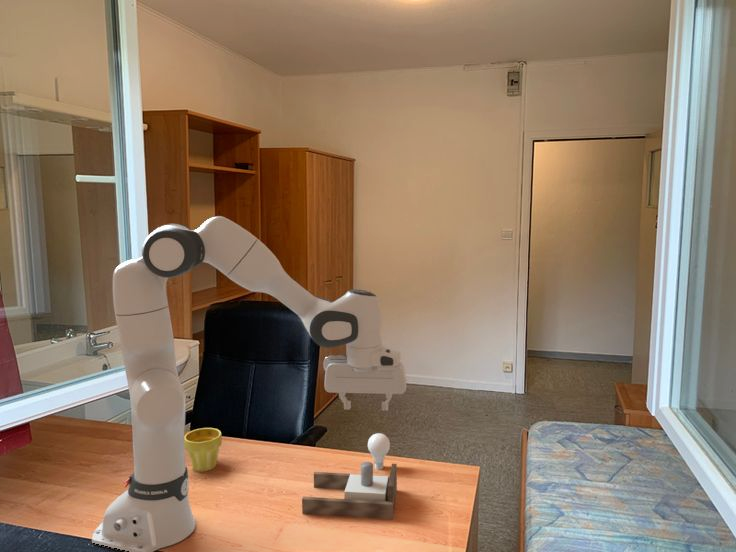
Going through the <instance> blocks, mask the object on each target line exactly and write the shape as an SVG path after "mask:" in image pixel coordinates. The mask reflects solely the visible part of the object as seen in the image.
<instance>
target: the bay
mask: <svg viewBox="0 0 736 552" xmlns="http://www.w3.org/2000/svg"><path fill="white" fill-rule="evenodd" d="M397 466H398V465H397V463H391V468H390V472H389V473H390V474H389V475H387V476H388V500H387V502H386V501H369V500H353V499H345V498H335V497H333V498H332V497H316V496H315V497H314V496H302V498H301V504H302V505H301V507H302V508H301V510H302V511H301V512H302V515H313V516H325V517H326V516H327V517H341V518H358V519H359V518H360V519H361V518H362V519H373V520H374V519H375V520H376V519H377V520H378V519H379V520H391V521H392V520H393V519H394V514H395V513H394V512H395V506H396V499H397V491H398V476H397V469H398V468H397ZM350 474H351V473H346V472H345V473H343V472H342V473H341V472H325V471H314V472H313V488H314V489H315V488H316V489H331V490H332V489H333V490H345V488H346V485H347V482H348V479H349V476H350ZM358 474H359V475H361V473H358ZM377 475H378V474H377ZM378 476H384V475H380V474H379V475H378Z"/></svg>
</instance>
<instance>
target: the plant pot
mask: <svg viewBox="0 0 736 552" xmlns="http://www.w3.org/2000/svg"><path fill="white" fill-rule="evenodd" d="M222 438H223V437H222V432H221V430H219V429H218V428H213V427H202V428H197V429H193V430H191V431H189V432H187V433H186V434H184V444H185V451H187V453H188V456H189V459H190V463H191V466H192V469H193V471H196V472H207V471H210V470H213V469H214V468H215V467H216V466H217V461H218V456H219V451H220V447H221V446H222V442H223V441H222Z"/></svg>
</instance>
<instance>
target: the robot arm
mask: <svg viewBox="0 0 736 552" xmlns="http://www.w3.org/2000/svg"><path fill="white" fill-rule="evenodd" d="M141 247H142V248H141V256H140V257H137V258H133V259H128V260H125V261H123V262H122V263H120V264H118V265H117V267H115V269H114V270H113V274H112V299H113V300H112V301H113V302H112V303H113V309H114V316H115V321H116V326H117V327H116V328H117V332H118V337H119V343H120V349H121V354H122V359H123V365H124V371H125V377H126V380H127V381H126V382H127V386H128V391H129V392H128V393H129V398H130V409H131V410H130V411H131V426H132V427H131V429H132V431H131V432H132V454H133V455H132V456H133V468H134V469H133V471H134V473H132V474H130V475H129V477H128V479H127V480H126V481H124V483H123V484H124V486H123V488H124V489H125V488H126V487H128V489H127V490H125V491H123V493H121V494H120V495H119V496H118V497H117V498H115V499H114V500H113V501H112V502H111V503H110V504H109V505H108V507H107V509H106V510H105V512H104V515H103V518H102V522H101V523H100V524H99V525H98V526H97V527H96V528H95V530H94V532H93V534H92V536H91V543H92V544H93V543H95V544H94V545H96V544H99V545H98V546H101V545H104V546H103V547H105V546H108V547H107V548H109V547H111V548H110V549H114V548H117V549H116V550H118V549H120V550H119V551H122V550H125V551H124V552H127V551H129V552H155V551H157V550H160V549H163V548H166V547H170V546H172V545H176V544H177V543H180V542H181V541H184V540H185V539H186V538H188V537H189V536H191V534H192V533H193V532H194V530H195V528H196V526H197V525H196V520H195V518H194V514H193V512H192V509H191V503H190V499H189V487H190V485H189V483H190V482H189V470H188V467H187V465H186V449H185V444H184V437H185V430H186V429H185V427H186V393H185V390H184V387H183V385H182V383H181V380H180V378H179V373H178V367H177V361H176V359H177V358H176V351H175V337H174V331H173V326H172V320H171V319H172V318H171V313H170V308H169V306H170V305H169V301H168V295H167V281H168V279H171V278H172V279H173V278H177V277H180V276H184V275H185V274H187V273H189V272H190V271H191V270H192V269H194V268H195V267H198V266H199V265H201V264H202V263H206V264H208V265H210V266H212V267H214V268H216V269H217V270H218V271H219V272H220V273H222V274H223V275H224V276H226V277H227V278H228V279H229V280H231V281H232V282H234V283H235V284H237V285H238V286H240V287H242V288H244V289H246V290H248V291H249V292H252V293H264V294H267V295H269V296H272V297H273V298H275V299H277V300H278V301H279V302H280V303H281V304H283V305H284V306H285V307H287V308H288V309H289V310H290V311H292V312H293V313H295V314H296V316H298V318H299V319H300V322H301V324H302V326H303V328H304V329H305V331H306V332H307V333H308V335H309V336H310V338H311V340H312V341H313V342H314V343H315V344H316V345H317V346H319V347H321V348H325V349H327V348H328V349H331V348H336V347H339V346H345V348H346V349H345V350H346V351H345V352H346V353H345V354H337V355H335V354H328V356H325V358H324V359H323V362H322V364H323V370H324V371H325V373H324V374H325V375H324V382H323V383H324V390H325V391H326V392H327V393H334V394H335V393H338V398H339V399H340V401H341V402H342V404H343V410H351V407H352V405H351V403H352V402H351V400H348V399H347V397H346V394H382V395H384V394H385V398H386V400H385V401H381V404H380V405H381V406H380V407H381V411H384V412H385V411H388V410H389V403H390V401H391V399H392V398H393V397H392V396H393V395H403V394H404V393H405V392H406V391H407V376H406V370H405V366H404V365H403V363H402V362H401V357H402V355H401V352H400V351H399V350H396V349H393V348H390V347H386V346H384V345H383V340H382V337H381V330H382V326H383V325H382V310H381V304H380V299H379V297H378V296H377V295H376V294H375V293H373V292H371V291H367V290H364V289H350V290H347V292H346V293H345V294H343V296H341V297H339V298H337V299H336V300H335V301H332V300H331V299H329V298H324V297H320V296H316V295H314V294H312V293H311V292H309V291H308V290H307V289H306V288H304V287H303V286H302V285H301V284H299V283H298V281H296V280H294V279H293V278H292V277H290V275H289V274H288V273H287V272H286V270H285V269H284V268H283V266H282V264H281V262H280V260H279V259H278V258H277V257H276V255H275V254H274V253H273V252H272V251H271V250H270V249H269V248H268V246H266V244H265V243H263V242H262V241H261V240H260V239H258V238H257V237H256V236H255V235H254V234H252V233H251V232H250V231H249V230H247V229H245V228H243V227H242V226H241V225H239V224H237V223H236V222H234V221H233V220H231V219H229V218H226V217H225V216H221V215H217V216H216V215H215V216H213V217H210V218H209V219H207V220H206V221H204V222H203V223H202V224H201V225H200V226H199V227H197V229H191V228H190V227H189V226H186V225H185V224H181V223H166V224H163V225H160V226H158V227H157V228H155V229H154V230H153V231H151V232H150V234H148V236H146V238H145V240H144V241H143V244H142V246H141Z"/></svg>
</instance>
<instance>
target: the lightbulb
mask: <svg viewBox="0 0 736 552" xmlns="http://www.w3.org/2000/svg"><path fill="white" fill-rule="evenodd" d="M390 447H391V442H390V439H389V438H388V436H386V434H384V433H380V432H378V433H374V434H372V435H371V436H370V437H369V438H368V441H367V449H368V452H369V453H370V454H371V456H372V461H373V470H377V471H380V470H383V469H384V461H385V457H386V455H388V452H389V451H390V449H391V448H390Z"/></svg>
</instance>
